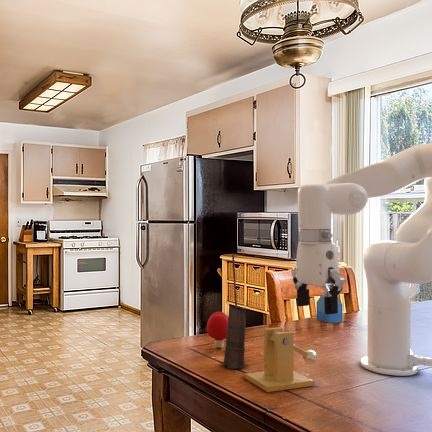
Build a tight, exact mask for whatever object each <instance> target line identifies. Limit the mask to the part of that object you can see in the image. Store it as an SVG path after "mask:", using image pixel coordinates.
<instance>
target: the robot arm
mask: <svg viewBox="0 0 432 432" xmlns="http://www.w3.org/2000/svg"><path fill="white" fill-rule="evenodd" d="M421 180H424V181H423V182H424V192H425V194H424V202H423V204H421V206H420V207H419V208H417V210H416V211H414V212H413V213H412V214H411V215H410V216H409V217H407V219H405V221H403V222H402V223H401V224H400V226H399V227H398V228H397V230H396V231H395V234H394V239H395V241H394V240H381V241H380V240H379V241H376V242H374V243H372V244H370V245H369V246H368V247H367V248H366V249H365V251H364V253H363V259H362V261H363V269H364V273H365V278H366V284H367V353H366V354H367V355H366V356H364V357H362V358H361V359H360V366H362V368H364V369H366V370H368V371H369V372H370V371H371V372H373V373H378V374H381V375H387V376H397V377H407V376H408V377H409V376H414V375H416V374H417V373H418V369H419V367H418V366H424V367H432V357H426V355H416V354H414V353H413V351H412V350H411V349H412V348H411V315H412V313H411V312H412V311H411V308H412V301H411V299H412V298H411V293H410V291H409V288H408V286H407V284H412V285H413V284H414V285H426V284H429V283H431V282H432V142H428V143H422V144H417V145H413V146H410V147H408V148H405V149H404V150H402V151H399V152H397V153H395V154H393V155H391V156H389V157H388V156H387V157H386V158H384V159H382V160H380V161H379V160H378V161H377V162H375V163H372V164H368V165H367V166H364V167H363V166H362V167H361V168H358V169H355V170H353V171H349V172H347V173H343V174H341V175H338V176H336V177H333V178H332V179H330V180H327V181H325V182H323V183H311V184H309V183H308V184H303V185H300V186H299V187H298V189H297V226H298V227H297V228H298V231H297V232H298V233H297V234H298V237H297V238H298V243H297V250H296V259H295V261H296V263H295V264H296V265H295V267H293V268H292V269H291V270H290V273H291V277H292V282H293V283H294V288H295V290H296V306H297V307H308V306H310V289H309V288H308V287H309V286H313V287H317V288H322V290H323V292H325V293H324V296H325V294H326V295H327V296H325V297H324V306H325V314H327V315H328V314H337V313H338V298H339V296H340V295H341V292H342V291H343V289H344V288H343V287H344V284H345V283H346V279H345V277H344V276H342V275H341V274H340V266H339V257H338V252H337V248H336V243H334V241H333V238H334V233H333V215H345V216H346V215H348V216H350V215H355V214H357V213H360V212H362V211H363V210H364V209H365V208H366V206H367V205H368V203H369V202H368V201H369V199H370V198H378V197H379V198H380V197H384V196H388V195H391V194H395V193H396V192H399V191H400V190H402V189H404V188H407V187H408V186H411V185H412V184H415V183H417V182H419V181H421ZM328 287H331V290H330V289H329V288H328Z"/></svg>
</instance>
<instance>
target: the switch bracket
mask: <svg viewBox="0 0 432 432" xmlns="http://www.w3.org/2000/svg"><path fill="white" fill-rule="evenodd" d="M263 330H264V331H263V332H264V334H263V337H264V342H263V347H264V349H263V350H264V351H263V355H264V356H263V360H264V361H263V365H264V366H263V370H262V371H255V372H247V373H244V376H245V377H244V379H245V380H247V381H248V382H250V383H251V384H253V385H255V386H257V387H258V388H259V389H262V390H263V391H264V392H266V393H272V392H279V391H285V390H286V391H287V390H293V389H299V388H300V389H301V388H307V387H313V386H314V380H313V379H311V378H309V377H307V376H305V375H303V374H301V373H300V372H297V371H295V370H294V367H295V366H294V362H295V361H294V353H295V350H294V345H295V344H294V343H295V341H294V339H295V338H294V337H295V332H293V331H291V330H290V331H284V329H283V327H278V326H277V327H269V328H264V329H263ZM274 330H275V331H278V332H279V333H275V342H273V341H271V340H270V337H271V335H272V333H273V331H274Z"/></svg>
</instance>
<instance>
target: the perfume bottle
mask: <svg viewBox="0 0 432 432" xmlns="http://www.w3.org/2000/svg"><path fill="white" fill-rule="evenodd" d="M328 288H329V289H330V290H331V287H328ZM323 292H324V291H323ZM325 296H327V295H326V294H325V292H324V295H320V297H319V298H318V300H317V301H316V312H315V313H316V314H315V315H316V317H315V318H316V320H318V321H321V322H323V323H327V324H330V323H342V322H343V303H342V301H341V300H340V298H339V297H338V313H337V314H328V315H327V314H325V306H324V297H325Z"/></svg>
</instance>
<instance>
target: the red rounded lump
mask: <svg viewBox="0 0 432 432" xmlns="http://www.w3.org/2000/svg"><path fill="white" fill-rule="evenodd" d="M227 327H228V315H227V314H226V313H225V312H223V311H214V312H213V313H212V314H211V315H210V316H209V318H208V320H207V322H206V332H207V334H208V336H209V337H210V338H212V339H213V346H214V347H215V348H216V349H218V350H220V349H222V348H223V347H224V346H225V343H224V342H225V340H226V336H227Z"/></svg>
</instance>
